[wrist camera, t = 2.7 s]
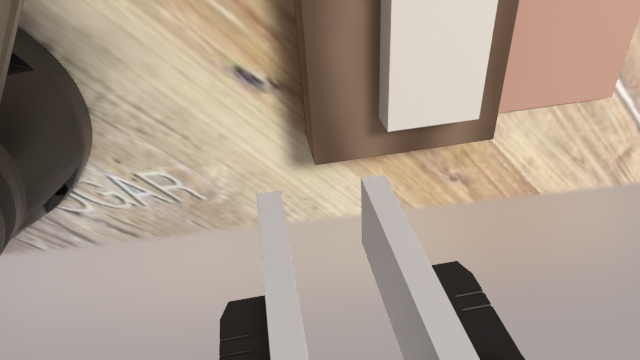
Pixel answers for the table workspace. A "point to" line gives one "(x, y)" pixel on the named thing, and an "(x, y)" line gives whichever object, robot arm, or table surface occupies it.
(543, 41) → the mat
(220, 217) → the table surface
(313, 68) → the serving board
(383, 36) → the tile
